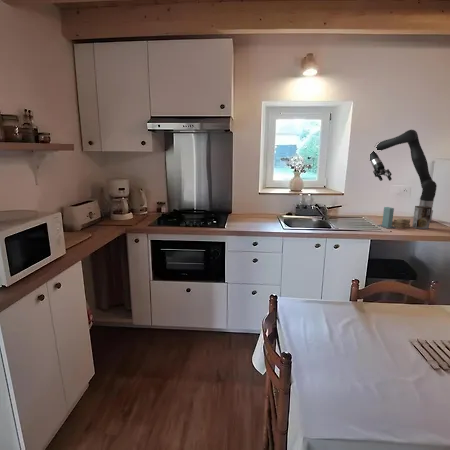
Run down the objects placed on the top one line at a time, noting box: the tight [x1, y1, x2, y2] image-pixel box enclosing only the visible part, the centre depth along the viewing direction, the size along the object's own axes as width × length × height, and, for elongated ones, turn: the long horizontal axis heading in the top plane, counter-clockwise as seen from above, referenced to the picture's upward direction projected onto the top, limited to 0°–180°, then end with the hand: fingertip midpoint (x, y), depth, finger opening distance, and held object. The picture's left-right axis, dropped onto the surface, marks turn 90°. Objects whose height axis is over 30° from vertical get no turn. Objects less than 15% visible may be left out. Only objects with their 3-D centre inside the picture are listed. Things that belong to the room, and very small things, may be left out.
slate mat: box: [377, 224, 397, 230], centre depth 243 cm, size 8×10×1 cm
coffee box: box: [412, 205, 433, 230], centre depth 239 cm, size 9×6×16 cm
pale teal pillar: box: [381, 206, 395, 227], centre depth 242 cm, size 4×6×14 cm, turn 16°
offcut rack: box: [392, 217, 411, 229], centre depth 247 cm, size 10×14×6 cm
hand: (386, 180), depth 258 cm, fingers open, 8 cm apart
